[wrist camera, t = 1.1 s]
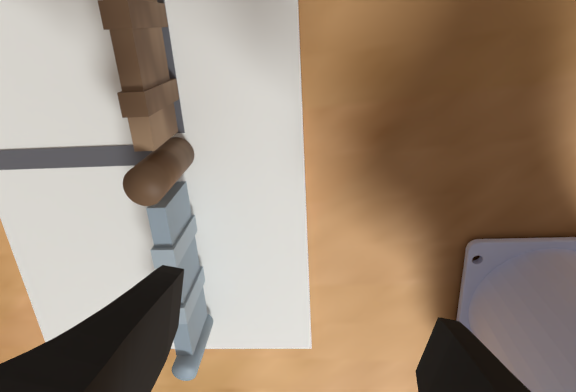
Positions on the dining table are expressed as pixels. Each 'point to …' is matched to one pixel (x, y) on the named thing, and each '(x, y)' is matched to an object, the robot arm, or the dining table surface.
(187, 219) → the fence folding panel
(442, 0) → the dining table surface
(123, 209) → the card
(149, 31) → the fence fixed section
